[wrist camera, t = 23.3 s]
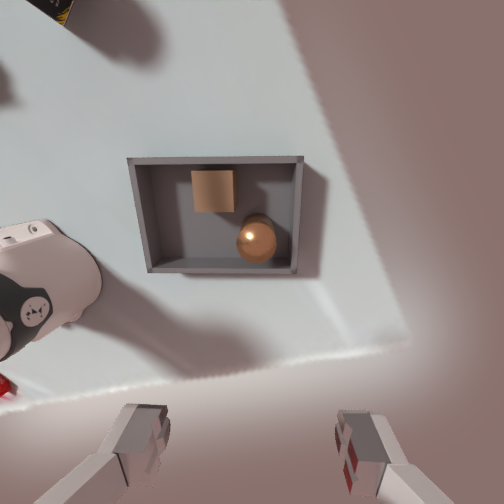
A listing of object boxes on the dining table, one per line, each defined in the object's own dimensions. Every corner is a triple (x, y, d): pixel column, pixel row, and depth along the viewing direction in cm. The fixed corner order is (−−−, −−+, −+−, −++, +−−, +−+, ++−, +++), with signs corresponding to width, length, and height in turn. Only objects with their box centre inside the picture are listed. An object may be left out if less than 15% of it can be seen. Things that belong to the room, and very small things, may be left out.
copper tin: (242, 245, 36) (237, 263, 30) (240, 213, 35) (235, 225, 28) (274, 244, 36) (276, 262, 30) (274, 212, 34) (276, 224, 28)
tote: (161, 260, 39) (147, 273, 34) (145, 158, 33) (126, 157, 29) (291, 260, 38) (296, 274, 33) (297, 157, 32) (303, 155, 28)
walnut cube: (203, 205, 34) (194, 212, 30) (201, 170, 33) (190, 170, 28) (237, 205, 34) (233, 212, 30) (236, 169, 33) (232, 170, 28)
